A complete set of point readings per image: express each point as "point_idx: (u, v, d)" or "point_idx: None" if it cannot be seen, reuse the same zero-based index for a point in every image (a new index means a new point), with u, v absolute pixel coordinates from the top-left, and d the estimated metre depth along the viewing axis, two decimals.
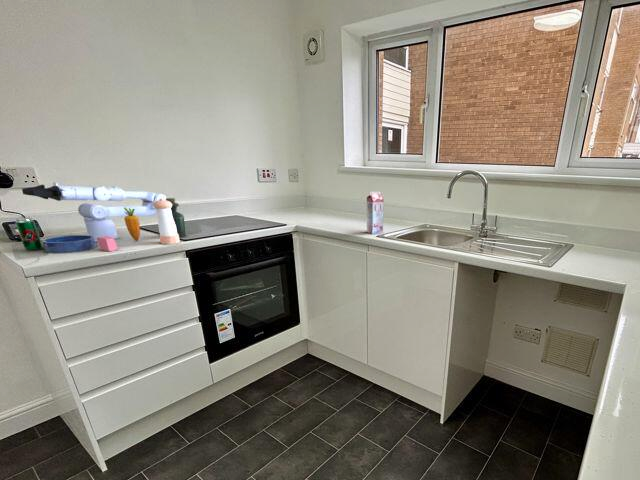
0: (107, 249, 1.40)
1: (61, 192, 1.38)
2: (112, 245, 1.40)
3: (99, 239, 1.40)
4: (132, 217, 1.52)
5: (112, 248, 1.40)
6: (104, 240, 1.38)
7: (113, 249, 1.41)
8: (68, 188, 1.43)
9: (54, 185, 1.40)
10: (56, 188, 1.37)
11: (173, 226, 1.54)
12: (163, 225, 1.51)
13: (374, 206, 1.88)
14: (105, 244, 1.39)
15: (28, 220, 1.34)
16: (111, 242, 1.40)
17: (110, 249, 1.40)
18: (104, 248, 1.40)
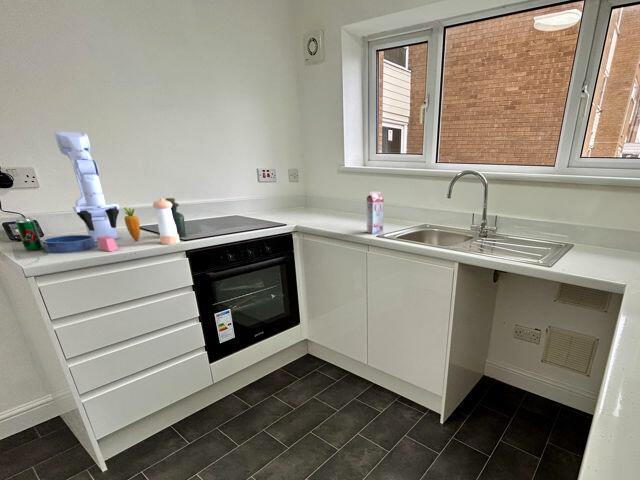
0: (107, 249, 1.40)
1: (117, 208, 1.42)
2: (112, 245, 1.40)
3: (99, 239, 1.40)
4: (132, 217, 1.52)
5: (112, 248, 1.40)
6: (104, 240, 1.38)
7: (113, 249, 1.41)
8: (103, 198, 1.35)
9: (101, 207, 1.35)
10: None
11: (173, 226, 1.54)
12: (163, 225, 1.51)
13: (374, 206, 1.88)
14: (105, 244, 1.39)
15: (28, 220, 1.34)
16: (111, 242, 1.40)
17: (110, 249, 1.40)
18: (104, 248, 1.40)
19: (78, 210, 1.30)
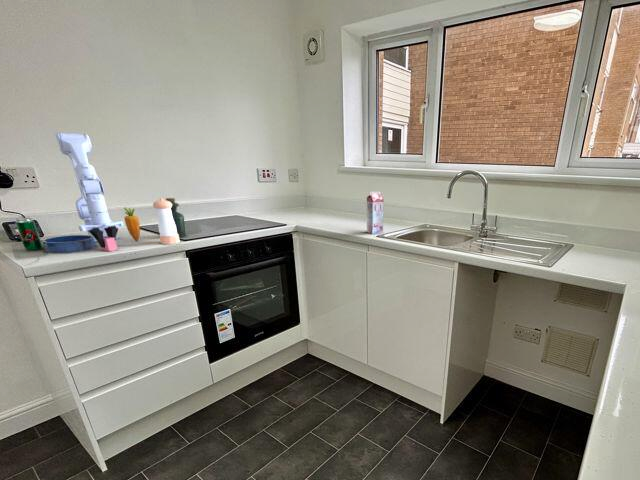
0: (107, 249, 1.40)
1: None
2: (112, 245, 1.40)
3: None
4: (132, 217, 1.52)
5: (112, 248, 1.40)
6: (104, 240, 1.38)
7: (113, 249, 1.41)
8: (108, 216, 1.38)
9: (106, 226, 1.37)
10: None
11: (173, 226, 1.54)
12: (163, 225, 1.51)
13: (374, 206, 1.88)
14: (105, 244, 1.39)
15: (28, 220, 1.34)
16: (111, 242, 1.40)
17: (110, 249, 1.40)
18: (104, 248, 1.40)
19: (84, 229, 1.32)
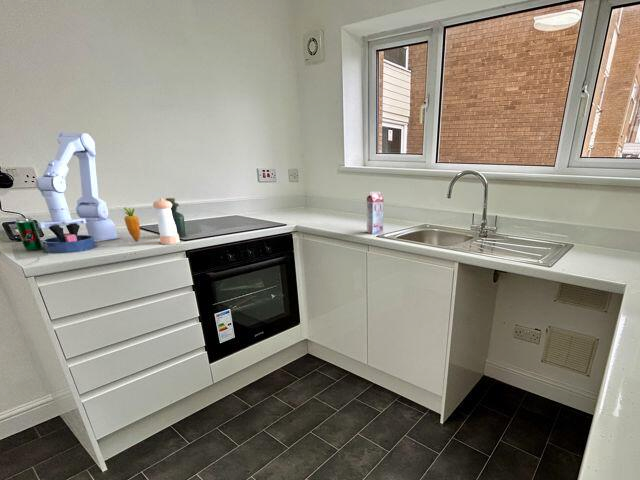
0: None
1: None
2: None
3: None
4: (132, 217, 1.52)
5: None
6: (65, 237, 1.38)
7: None
8: (69, 213, 1.38)
9: (67, 223, 1.37)
10: None
11: (173, 226, 1.54)
12: (163, 225, 1.51)
13: (374, 206, 1.88)
14: (66, 241, 1.39)
15: (28, 220, 1.34)
16: (72, 239, 1.40)
17: None
18: None
19: (43, 226, 1.32)
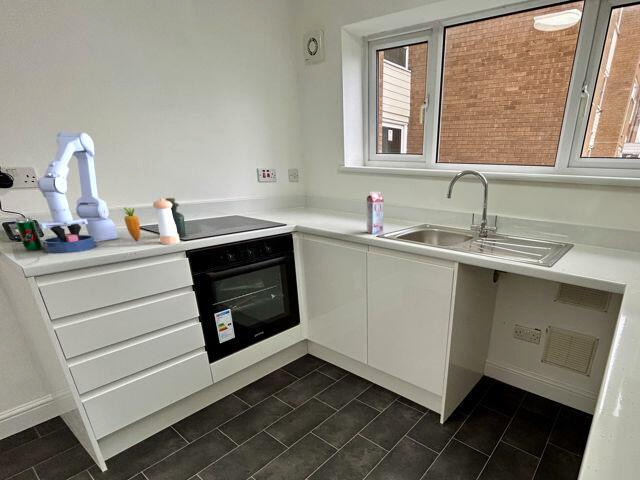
0: None
1: (85, 223, 1.44)
2: None
3: None
4: (132, 217, 1.52)
5: None
6: (66, 237, 1.38)
7: None
8: (70, 214, 1.38)
9: (68, 223, 1.37)
10: None
11: (173, 226, 1.54)
12: (163, 225, 1.51)
13: (374, 206, 1.88)
14: (67, 241, 1.39)
15: (28, 220, 1.34)
16: (74, 239, 1.39)
17: None
18: None
19: (44, 227, 1.32)
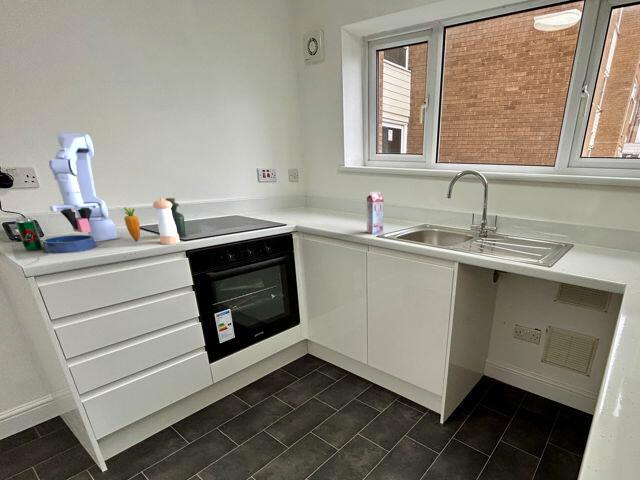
0: (80, 230, 1.37)
1: (96, 207, 1.42)
2: (85, 226, 1.37)
3: None
4: (132, 217, 1.52)
5: (85, 229, 1.37)
6: (77, 221, 1.36)
7: (86, 230, 1.38)
8: (81, 197, 1.35)
9: (79, 207, 1.35)
10: None
11: (173, 226, 1.54)
12: (163, 225, 1.51)
13: (374, 206, 1.88)
14: (78, 225, 1.36)
15: (28, 220, 1.34)
16: (84, 223, 1.37)
17: (83, 230, 1.37)
18: (77, 229, 1.37)
19: (55, 209, 1.30)
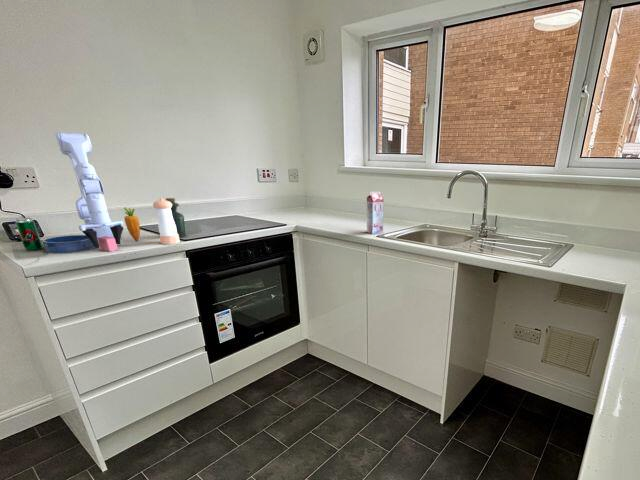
0: (107, 249, 1.39)
1: (121, 225, 1.44)
2: (112, 245, 1.40)
3: (99, 239, 1.40)
4: (132, 217, 1.52)
5: (112, 248, 1.40)
6: (104, 240, 1.38)
7: (113, 249, 1.41)
8: (108, 215, 1.38)
9: (106, 225, 1.37)
10: None
11: (173, 226, 1.54)
12: (163, 225, 1.51)
13: (374, 206, 1.88)
14: (105, 244, 1.39)
15: (28, 220, 1.34)
16: (111, 242, 1.40)
17: (110, 249, 1.40)
18: (104, 248, 1.40)
19: (84, 228, 1.32)
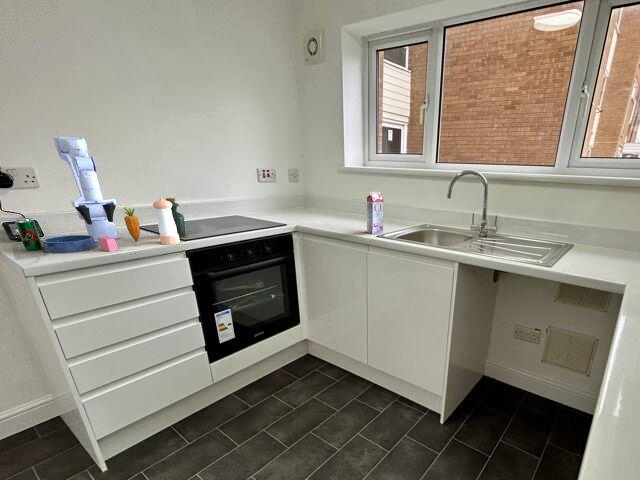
0: (107, 249, 1.39)
1: (114, 203, 1.48)
2: (112, 245, 1.40)
3: (99, 239, 1.40)
4: (132, 217, 1.52)
5: (112, 248, 1.40)
6: (104, 240, 1.38)
7: (113, 249, 1.41)
8: (100, 193, 1.42)
9: (99, 202, 1.41)
10: None
11: (173, 226, 1.54)
12: (163, 225, 1.51)
13: (374, 206, 1.88)
14: (105, 244, 1.39)
15: (28, 220, 1.34)
16: (111, 242, 1.40)
17: (110, 249, 1.40)
18: (104, 248, 1.40)
19: (76, 205, 1.36)
